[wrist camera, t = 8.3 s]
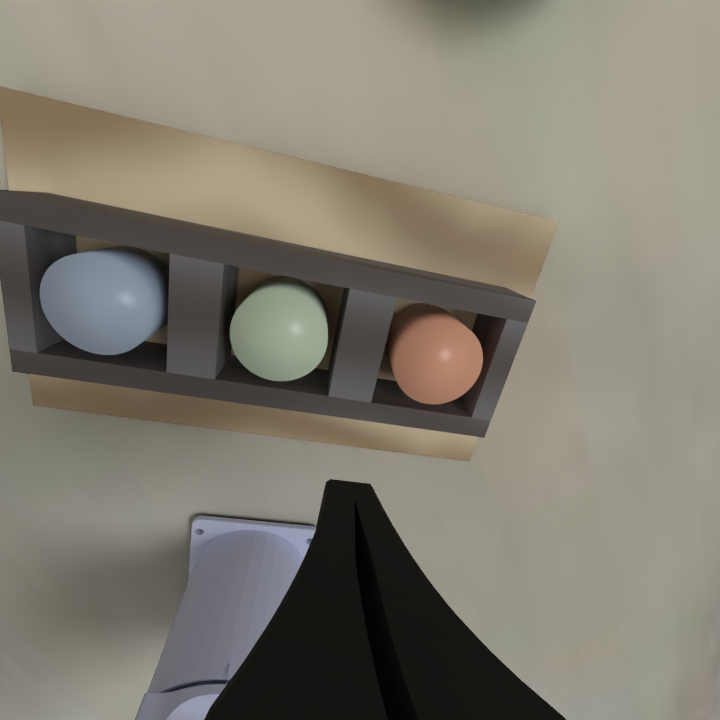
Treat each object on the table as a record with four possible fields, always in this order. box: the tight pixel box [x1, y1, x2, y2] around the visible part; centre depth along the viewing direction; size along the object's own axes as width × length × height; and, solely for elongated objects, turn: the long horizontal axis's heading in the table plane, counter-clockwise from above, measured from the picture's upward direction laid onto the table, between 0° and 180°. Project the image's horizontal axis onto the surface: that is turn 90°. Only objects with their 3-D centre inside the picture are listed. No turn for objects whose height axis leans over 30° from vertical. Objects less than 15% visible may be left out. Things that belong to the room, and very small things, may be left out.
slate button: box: [40, 246, 169, 355], centre depth 16 cm, size 4×4×3 cm
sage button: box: [230, 277, 328, 381], centre depth 17 cm, size 4×4×3 cm
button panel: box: [0, 87, 559, 461], centre depth 18 cm, size 14×24×4 cm, turn 78°
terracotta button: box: [385, 304, 483, 404], centre depth 18 cm, size 4×4×3 cm
